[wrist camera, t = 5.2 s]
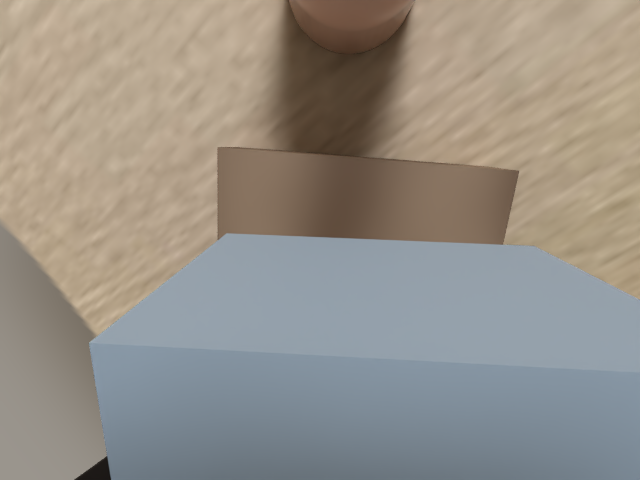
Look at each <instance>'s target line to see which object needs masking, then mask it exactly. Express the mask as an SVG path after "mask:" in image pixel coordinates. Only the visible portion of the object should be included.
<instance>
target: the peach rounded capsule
mask: <svg viewBox="0 0 640 480" xmlns="http://www.w3.org/2000/svg"><path fill="white" fill-rule="evenodd" d="M414 2H415V0H289V3H290V6H291V9H292V11H293V14H294V16H295V18H296V20H297V22H298V24H299V25H300V27H301V28H302V30H303V31H304V32H305V33H306V34H307V36H308V37H309V38H311V39H312V40H313V41H314V42H315V43H317V44H318V45H320V46H321V47H323V48H325V49H328V50H330V51H333V52H337V53H343V54H355V53H362V52H365V51H368V50H371V49H373V48H375V47H377V46H379V45H381V44H382V43H384V42H385V41H386V40H388V39H389V38H390V37H391V36H392V35H393V34H394V33H395V32H396V31H397V30H398V28H399V27H400V26H401V24H402V23H403V21H404V20H405V18H406V16H407V14H408V13H409V11H410V9H411V7H412V5H413V3H414Z"/></svg>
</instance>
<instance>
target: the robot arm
mask: <svg viewBox="0 0 640 480" xmlns="http://www.w3.org/2000/svg"><path fill="white" fill-rule="evenodd" d="M75 480H111V476H110V470H109V464H108V457H105V458H104V459H102V460H101V461H100V462H98V463H97V464H95V465H94V466H93V467H92V468H90V469H89V470H87V471H86V472H84V473H83V474H82V475H80V476H79V477H77V478H76V479H75Z"/></svg>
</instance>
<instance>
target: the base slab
mask: <svg viewBox="0 0 640 480" xmlns="http://www.w3.org/2000/svg"><path fill="white" fill-rule="evenodd" d="M518 174H519V171H516V170H508V169H501V168H493V167H484V166H472V165H459V164H446V163H433V162H420V161H407V160H395V159H382V158H369V157H356V156H343V155H330V154H318V153H305V152H292V151H279V150H266V149H253V148H241V147H218V240H219V239H220V238H221V237H223V236H224V235H225V234H226V233H231V234H255V235H279V236H303V237H328V238H352V239H376V240H400V241H424V242H449V243H473V244H497V245H503V242H504V238H505V233H506V228H507V224H508V219H509V215H510V210H511V206H512V201H513V197H514V192H515V188H516V183H517V179H518Z"/></svg>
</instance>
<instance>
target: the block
mask: <svg viewBox="0 0 640 480" xmlns="http://www.w3.org/2000/svg"><path fill="white" fill-rule="evenodd" d="M89 346H90V353H91V359H92V365H93V371H94V377H95V383H96V389H97V396H98V402H99V408H100V414H101V420H102V427H103V433H104V439H105V445H106V451H107V457H108V464H109V470H110V476H111V480H640V300H639V299H637V298H635V297H633V296H631V295H629V294H627V293H625V292H624V291H622V290H620V289H618V288H616V287H614V286H612V285H610V284H608V283H606V282H604V281H602V280H600V279H598V278H596V277H594V276H592V275H590V274H588V273H586V272H584V271H582V270H580V269H578V268H576V267H574V266H572V265H570V264H568V263H566V262H565V261H563V260H561V259H559V258H557V257H555V256H553V255H551V254H549V253H547V252H545V251H543V250H541V249H539V248H537V247H535V246H521V245H497V244H473V243H449V242H424V241H400V240H376V239H352V238H328V237H303V236H279V235H255V234H231V233H226V234H225V235H224V236H223V237H221V238H220V239H219V240H218V241H216V242H215V243H214V244H213V245H211V246H210V247H209V248H208V249H206V250H205V251H204V252H203V253H201V254H200V255H199V256H198V257H196V258H195V259H194V260H193V261H191V262H190V263H189V264H188V265H186V266H185V267H184V268H182V269H181V270H180V271H179V272H177V273H176V274H175V275H174V276H172V277H171V278H170V279H169V280H167V281H166V282H165V283H164V284H162V285H161V286H160V287H159V288H157V289H156V290H155V291H154V292H152V293H151V294H150V295H149V296H147V297H146V298H145V299H144V300H142V301H141V302H140V303H139V304H137V305H136V306H135V307H133V308H132V309H131V310H130V311H128V312H127V313H126V314H125V315H123V316H122V317H121V318H120V319H118V320H117V321H116V322H115V323H113V324H112V325H111V326H110V327H108V328H107V329H106V330H105V331H103V332H102V333H101V334H100V335H98V336H97V337H96V338H95V339H93V340H92V341H91V342H90V343H89Z"/></svg>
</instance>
